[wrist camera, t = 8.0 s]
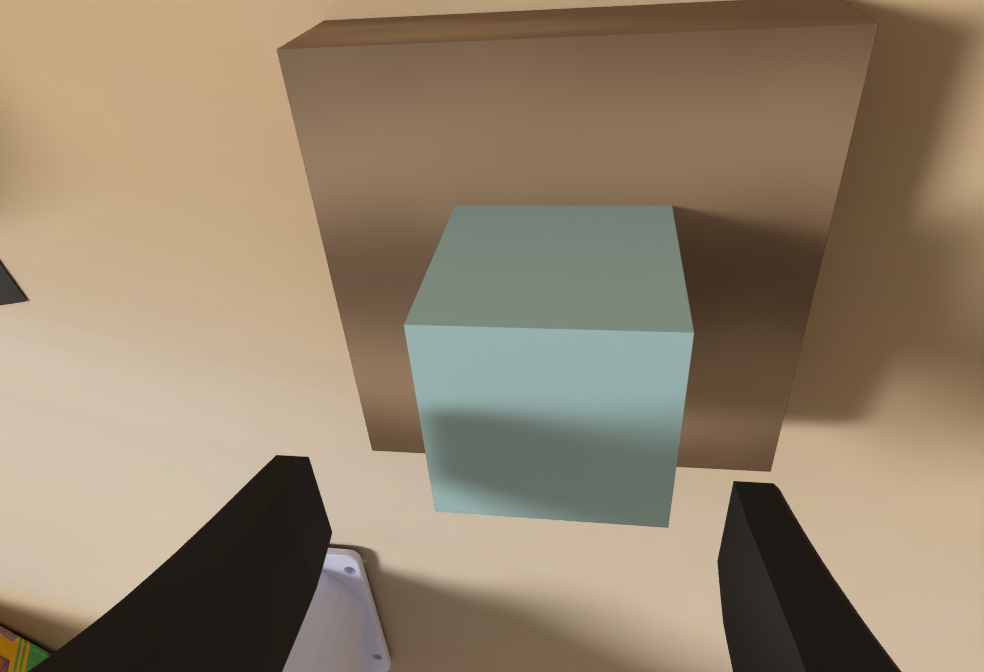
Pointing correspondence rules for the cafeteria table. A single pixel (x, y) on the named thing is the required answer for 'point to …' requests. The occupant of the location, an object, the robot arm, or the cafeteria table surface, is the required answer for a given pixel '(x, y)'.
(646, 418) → the teal cube
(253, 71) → the cafeteria table surface
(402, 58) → the walnut base
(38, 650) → the chalk box
